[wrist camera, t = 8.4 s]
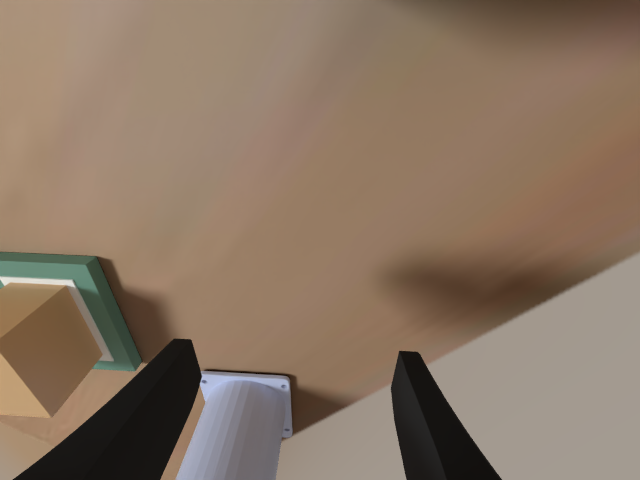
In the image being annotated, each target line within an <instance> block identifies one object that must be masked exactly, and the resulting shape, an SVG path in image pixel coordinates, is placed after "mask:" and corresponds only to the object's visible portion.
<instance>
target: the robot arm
mask: <svg viewBox="0 0 640 480" xmlns="http://www.w3.org/2000/svg"><path fill="white" fill-rule="evenodd" d="M199 385H200V386H201V389H202V393H203V396H204V399H205V402H206V403H205V406H204V408H203V411H202V414H201V416H200V419H199V421H198V424H197V426H196V429H195V431H194V434H193V436H192V439H191V442H190V444H189V447H188V449H187V452H186V454H185V457H184V459H183V462H182V464H181V467H180V470H179V472H178V475H177V477H176V480H276V473H277V466H278V460H279V453H280V447H281V440H282V437H285V438H289V437H291V436H292V433H293V429H292V410H291V391H290V379H289V378H288V377H287V376H281V375H265V374H248V373H231V372H214V371H200V367H199V364H198V361H197V357H196V354H195V351H194V347H193V344H192V340H190V339H173V340H172V341H171V342H170V343H169V344H168V345H167V346H166V347H165V348H164V349H163V350H162V351H161V352H160V353H159V354H158V355H157V356H156V357H155V358H154V359H153V360H152V361H151V362H149V363H148V364H147V365H146V366H145V367H144V368H143V369H142V370H141V371H140V372H139V373H138V374H137V375H136V376H135V377H134V378H133V379H132V380H131V381H130V382H129V383H128V384H127V385H126V386H124V387H123V388H122V389H121V390H120V391H119V392H118V393H117V394H116V395H115V396H114V397H113V398H112V399H111V400H109V401H108V402H107V403H106V404H105V405H104V406H103V407H102V408H100V409H99V410H98V411H97V412H96V413H95V414H94V415H93V416H91V417H90V418H89V419H88V420H87V421H86V422H85V423H83V424H82V425H81V426H80V427H79V428H78V429H76V430H75V431H74V432H73V433H72V434H70V435H69V436H68V437H67V438H66V439H64V440H63V441H62V442H61V443H60V444H58V445H57V446H56V447H55V448H53V449H52V450H51V451H50V452H48V453H47V454H46V455H45V456H43V457H42V458H41V459H39V460H38V461H37V462H36V463H34V464H33V465H32V466H30V467H29V468H28V469H27V470H25V471H24V472H22V473H21V474H20V475H18V476H17V477H16V478H14V479H13V480H160V479H161V476H162V474H163V472H164V470H165V468H166V465H167V463H168V461H169V459H170V456H171V454H172V452H173V450H174V448H175V445H176V443H177V441H178V439H179V436H180V434H181V432H182V430H183V427H184V425H185V423H186V421H187V418H188V416H189V414H190V412H191V409H192V407H193V404H194V401H195V398H196V395H197V392H198V389H199ZM391 393H392V403H393V411H394V421H395V426H396V431H397V436H398V441H399V446H400V450H401V455H402V459H403V465H404V470H405V474H406V479H407V480H502V479H501V478H500V476H499V475H498V474H497V473H496V471H495V470H494V468H493V467H492V466H491V465H490V463H489V462H488V460H487V459H486V458H485V456H484V455H483V454H482V452H481V451H480V449H479V448H478V447H477V445H476V444H475V442H474V441H473V439H472V438H471V437H470V435H469V434H468V432H467V431H466V429H465V428H464V427H463V425H462V423H461V422H460V420H459V419H458V417H457V416H456V414H455V413H454V411H453V410H452V408H451V407H450V405H449V403H448V402H447V400H446V399H445V397H444V396H443V394H442V392H441V390H440V389H439V387H438V385H437V384H436V382H435V380H434V379H433V377H432V375H431V374H430V372H429V370H428V368H427V366H426V365H425V363H424V361H423V359H422V357H421V355H420V354H419V353H418V352H410V351H399V355H398V359H397V363H396V368H395V372H394V377H393V381H392V385H391Z"/></svg>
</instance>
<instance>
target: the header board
mask: <svg viewBox="0 0 640 480" xmlns="http://www.w3.org/2000/svg"><path fill="white" fill-rule="evenodd" d="M10 282H13V283H33V284H53V285H66V286H67V288H68V290H69V292H70V293H71V295H72V297H73V299H74V301H75V303H76V305H77V307H78V309H79V310H80V312H81V314H82V316H83V318H84V320H85V322H86V324H87V326H88V327H89V329H90V331H91V333H92V335H93V337H94V339H95V341H96V342H97V344H98V346H99V348H100V350H101V352H102V354H103V356H102V357H101V358H100V359H99V360H98V362H97V363H96V364H95V365H94V367H93V368H92V369H104V370H121V371H136V370H137V368H138V367H139V365H140V364H141V362H142V360H141V358H140V355H139V353H138V351H137V348H136V346H135V344H134V342H133V339H132V337H131V335H130V332H129V330H128V328H127V326H126V323H125V321H124V319H123V316H122V314H121V312H120V310H119V307H118V305H117V303H116V300H115V298H114V296H113V294H112V291H111V289H110V287H109V284H108V282H107V280H106V277H105V275H104V273H103V271H102V268H101V266H100V264H99V261H98V259H97V257H96V256H76V255H54V254H33V253H11V252H0V289H1V288H2V287H4V286H5V285H7V284H8V283H10Z"/></svg>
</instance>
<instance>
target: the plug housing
mask: <svg viewBox="0 0 640 480" xmlns="http://www.w3.org/2000/svg"><path fill="white" fill-rule="evenodd" d="M102 356H103V354H102V352H101V350H100V348H99V346H98V344H97V342H96V341H95V339H94V337H93V335H92V333H91V331H90V329H89V327H88V326H87V324H86V322H85V320H84V318H83V316H82V314H81V312H80V310H79V309H78V307H77V305H76V303H75V301H74V299H73V297H72V295H71V293H70V292H69V290H68V288H67V286H66V285H53V284H33V283H13V282H10V283H8V284H7V285H5V286H4V287H2V288H1V289H0V415H15V416H30V417H46V418H52V417H53V416H54V415H55V413H56V412H57V411H58V410H59V408H60V407H61V406H62V405H63V404H64V402H65V401H66V400H67V399H68V397H69V396H70V395H71V394H72V392H73V391H74V390H75V389H76V388H77V386H78V385H79V384H80V383H81V381H82V380H83V379H84V378H85V376H86V375H87V374H88V373H89V372H90V370H91V369H92V368H93V367H94V365H95V364H96V363H97V362H98V360H99V359H100V358H101V357H102Z"/></svg>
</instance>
